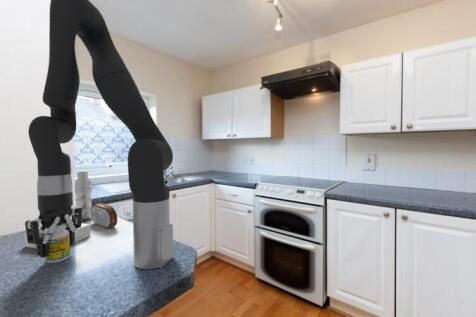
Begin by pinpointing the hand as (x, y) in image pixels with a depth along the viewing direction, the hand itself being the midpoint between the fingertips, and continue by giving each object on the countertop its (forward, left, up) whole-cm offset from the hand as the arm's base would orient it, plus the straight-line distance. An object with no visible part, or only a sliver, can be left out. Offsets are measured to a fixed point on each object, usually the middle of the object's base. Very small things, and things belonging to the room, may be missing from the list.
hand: (57, 250), depth 63 cm
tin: (+8, -25, -3) cm, 26 cm away
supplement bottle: (0, 0, -3) cm, 3 cm away
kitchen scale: (+11, -10, -2) cm, 15 cm away
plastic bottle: (+22, -29, -3) cm, 36 cm away
